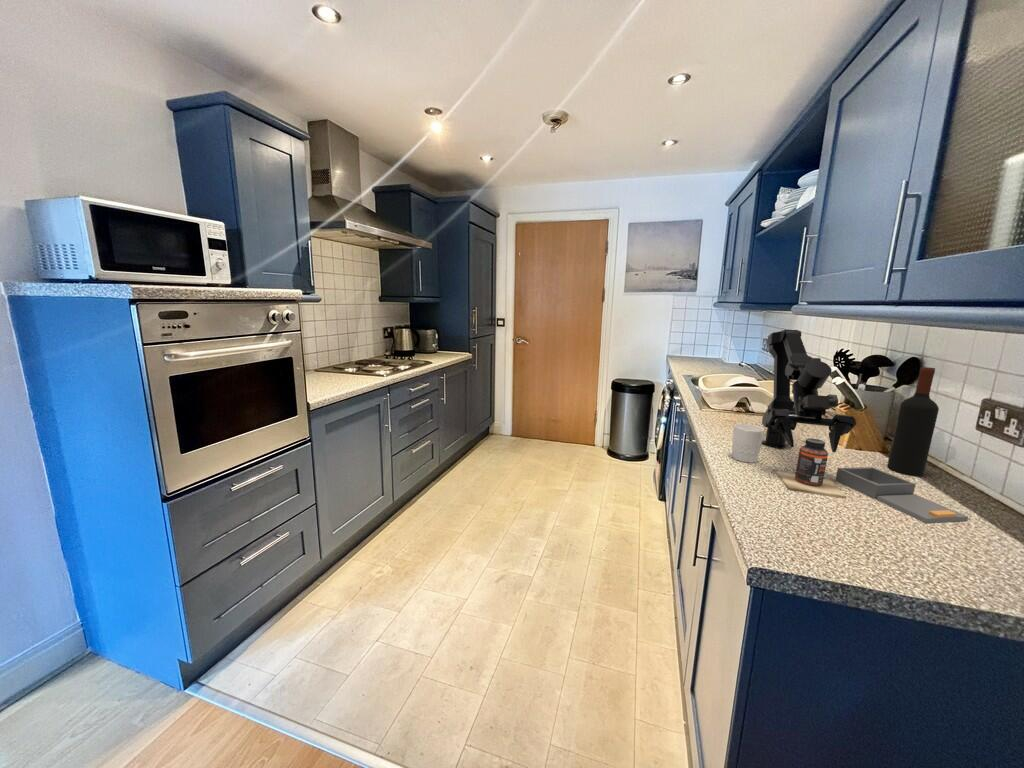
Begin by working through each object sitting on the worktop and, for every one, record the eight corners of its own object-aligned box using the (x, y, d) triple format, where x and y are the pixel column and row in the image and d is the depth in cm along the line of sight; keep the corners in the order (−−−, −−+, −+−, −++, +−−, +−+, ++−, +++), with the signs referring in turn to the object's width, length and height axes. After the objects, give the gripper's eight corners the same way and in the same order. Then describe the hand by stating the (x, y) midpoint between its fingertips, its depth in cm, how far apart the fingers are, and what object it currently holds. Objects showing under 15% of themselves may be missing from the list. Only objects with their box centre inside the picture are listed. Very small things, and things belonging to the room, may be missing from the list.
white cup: (751, 454, 126) (756, 424, 124) (764, 464, 118) (769, 431, 116) (725, 453, 126) (729, 422, 125) (736, 463, 119) (741, 430, 117)
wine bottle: (892, 472, 114) (915, 368, 108) (883, 463, 121) (904, 364, 115) (928, 478, 111) (954, 370, 105) (917, 469, 117) (940, 367, 112)
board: (775, 471, 113) (775, 469, 113) (826, 479, 109) (827, 476, 109) (788, 489, 102) (788, 487, 102) (845, 498, 98) (846, 496, 98)
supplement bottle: (822, 489, 101) (829, 446, 99) (793, 482, 105) (800, 440, 103) (823, 481, 106) (830, 440, 104) (795, 475, 109) (802, 435, 107)
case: (835, 480, 108) (837, 468, 107) (870, 479, 109) (872, 467, 109) (925, 522, 87) (929, 508, 86) (967, 520, 88) (971, 506, 88)
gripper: (775, 379, 109) (780, 430, 101) (860, 385, 103) (872, 440, 95) (764, 401, 118) (768, 449, 110) (841, 408, 112) (851, 459, 104)
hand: (813, 449), depth 104 cm, fingers open, 9 cm apart
